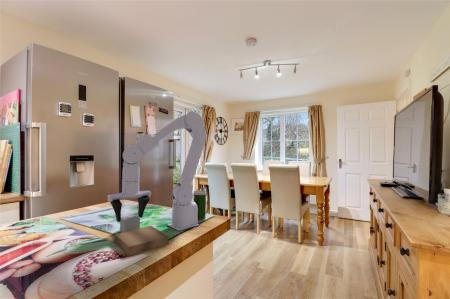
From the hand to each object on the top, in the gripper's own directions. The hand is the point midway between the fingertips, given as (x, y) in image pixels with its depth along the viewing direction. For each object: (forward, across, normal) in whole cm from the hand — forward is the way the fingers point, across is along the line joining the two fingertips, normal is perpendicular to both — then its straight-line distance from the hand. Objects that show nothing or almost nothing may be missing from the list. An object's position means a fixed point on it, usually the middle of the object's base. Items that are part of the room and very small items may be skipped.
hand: (129, 219), depth 79 cm
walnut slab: (+5, +1, +12) cm, 13 cm away
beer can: (+4, -27, +5) cm, 28 cm away
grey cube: (+4, 0, 0) cm, 5 cm away
